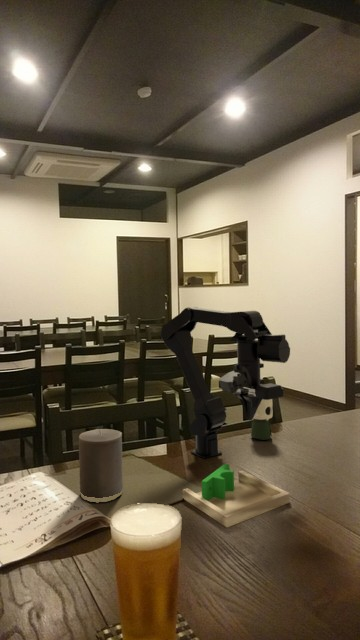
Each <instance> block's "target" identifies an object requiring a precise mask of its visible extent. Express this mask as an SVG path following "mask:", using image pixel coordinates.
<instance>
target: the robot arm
mask: <svg viewBox="0 0 360 640" xmlns="http://www.w3.org/2000/svg"><path fill="white" fill-rule="evenodd" d="M197 323H198V324H199V323H201V324H204V325H205V324H206V325H213V326H220V327H224V328H226V329H228V330H229V331H231V332H233V333H234V335H233V336H232V337H231V338H230V339H229V342H231V343H236V344H237V345H236V346H237V349H236V351H237V363H234V364H233V367H232V368H233V370H231V371H229V372H227V373H225V374H224V375H223V376H221V377H220V378H218V388H219V389H221V391H222V392H227V393H229V394H233V395H234V396H235V397H237V398H238V399H239V400H240V403H241V405H242V408H243V410H244V414H245V417H246V420H247V421H253V417H254V415H255V413H256V411H257V409H258V407H259V405H260V403H261V401H262V399H264V400H270V399H272V400H274V399H279V398H283V397H284V388H283V387H282V385H280V384H276V383H271V382H270V383H265V379H264V378H261V369H262V368H264V363H262V362H271V363H281V364H282V363H283V364H286V363H287V362H288V360H289V358H290V355H291V347H290V344H289V341H288V340H287V337H286V335H285V334H272V332H271V331H270V329H269V327H268V326H267V325H266V323H265V322H264V318H263V316H262V314H261V313H260V311H257V310H243V311H233V312H231V311H224V310H223V311H222V310H216V309H209V308H207V309H206V308H199V307H198V306H193V307H192V306H191V307H186V308H184V309H183V310H182V311H181V312H180V313H179V314H177V315H175V316H174V317H173V318H172V319H170V320H169V321H168V322H167V323H165V324H164V325H163V326H162V327H161V331H160V337H161V339H162V341H163V342H164V345H165V346H166V348H167V349H169V351H170V352H172V353H173V354H174V355H175V357H176V360H177V362H178V365H179V367H180V369H181V371H182V374H183V376H184V378H185V381H186V384H187V386H188V389H189V391H190V393H191V396H192V399H193V401H194V402H193V415H194V420H193V421H192V422H191V423H190V424H189V425H188V427H187V428H188V430H189V433H190V435H193V436H194V439H195V440H194V443H195V449H191V450H190V452H191V453H192V454H194V455H196V456H198V457H200V458H203V459H208V458H212V457H216V456H218V455H222V454H223V451H222V450H219V439H218V432H217V431H219V430H222V429H223V428H222V427H223V426H224V425H223V424H224V423H225V422H226V418H227V412H226V411H227V408H226V407H225V405H224V403H223V400H222V397H220V396H218V397H215V396H214V395H213V394H212V393H211V392H210V389H209V386H208V385H207V382H206V380H205V376H203V372H202V371H201V368H200V366H199V364H198V361H197V358H196V356H195V354H194V352H193V349H192V339H193V338H192V334H191V333H192V331H193V330H194V329H196V326H197ZM261 361H262V362H261Z"/></svg>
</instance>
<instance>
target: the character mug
mask: <svg viewBox="0 0 360 640" xmlns="http://www.w3.org/2000/svg"><path fill="white" fill-rule="evenodd" d="M273 413H274V412H273V399H270V400H264V399H262V401H261V403H260V405H259V407H258V409H257V411H256V413H255V415H254V417H253V419H252V420H251V421H252V422H251V431H250V432H251V433H250V437H251V438H253V439H257V440H260V441H261V440H262V441H265V440H271V438H272V437H273V435H272V428H271V422H270V419H272V418H273V416H274V415H273Z"/></svg>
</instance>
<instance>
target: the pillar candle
mask: <svg viewBox="0 0 360 640" xmlns="http://www.w3.org/2000/svg"><path fill="white" fill-rule="evenodd" d="M122 434H123V432H121V431H119V430H115V429H109V428H96V429H92V430H88V431H84V432H81V433H80V434H79V436H78V459H79V460H78V462H79V463H78V464H79V466H78V467H79V493H80V492H81V493H82V494H83V495H84V496H87V497H95V498H103V497H109V496H113V495H115V494H118V493H120V492H121V491H122V489H123V490H124V479H123V478H124V475H123V469H124V468H123V441H122V440H123V438H122V436H123V435H122Z"/></svg>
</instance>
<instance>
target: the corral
mask: <svg viewBox="0 0 360 640" xmlns="http://www.w3.org/2000/svg"><path fill="white" fill-rule="evenodd" d="M237 475H238V476H237V477H238V479H234V491H225V499H220V498H216V497H212V498H211V499H210V500H209V501H207V500H206V499H204V498H202V490H201V491H198V492H194V491H193V490H191V489H190V488H188V487H186V488H183V489H182V499H183V498H184V501H186V502H187V503H189V504H191V505H192V506H194V507H196V509H198V510H200V511H201V512H203V513H205V514H206V515H208V516H209V517H210V518H211V519H213V520H215V521H216V522H218V523H219V524H221V525H222V526H223V527H225V528H230V527H232V526H235V525H237V524H239V523H240V524H241V523H242V522H245V521H247V520H249V519H252V518H254V517H257V516H259V515H262V514H265V513H268V512H269V511H270V512H271V510H274V509H277V508H279V507H282V506H284V505H285V506H286V505H287V504H290V502H291V498H290V497H291V494H290V492H288V491H286V490H284V489H281V488H280V487H277V486H276V485H273V484H271V483H269V482H267V481H265V480H263V479H261V478H258V477H256V476H255V475H252V474H250V473H249V472H246V471H243V470H240V471H238V473H237Z"/></svg>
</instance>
